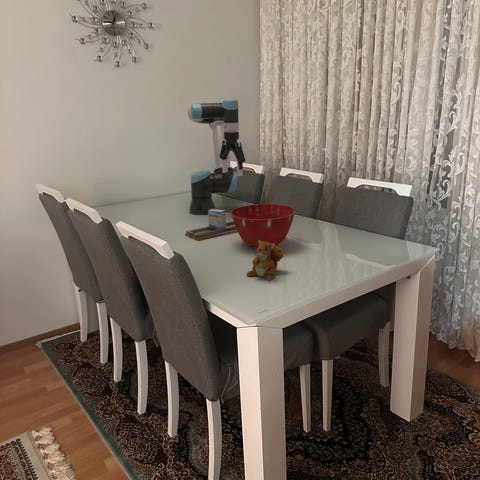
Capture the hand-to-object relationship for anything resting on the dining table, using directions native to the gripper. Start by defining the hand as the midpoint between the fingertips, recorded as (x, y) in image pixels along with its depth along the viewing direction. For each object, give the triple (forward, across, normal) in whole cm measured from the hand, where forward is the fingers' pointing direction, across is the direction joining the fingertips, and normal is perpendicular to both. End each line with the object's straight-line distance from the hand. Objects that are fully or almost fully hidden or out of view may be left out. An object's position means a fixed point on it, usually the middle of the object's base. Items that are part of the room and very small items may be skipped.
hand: (232, 174), depth 232 cm
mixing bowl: (+25, +39, -10) cm, 48 cm away
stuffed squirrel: (+24, +69, -31) cm, 79 cm away
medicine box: (+23, +10, -16) cm, 30 cm away
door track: (+25, +10, -16) cm, 32 cm away
